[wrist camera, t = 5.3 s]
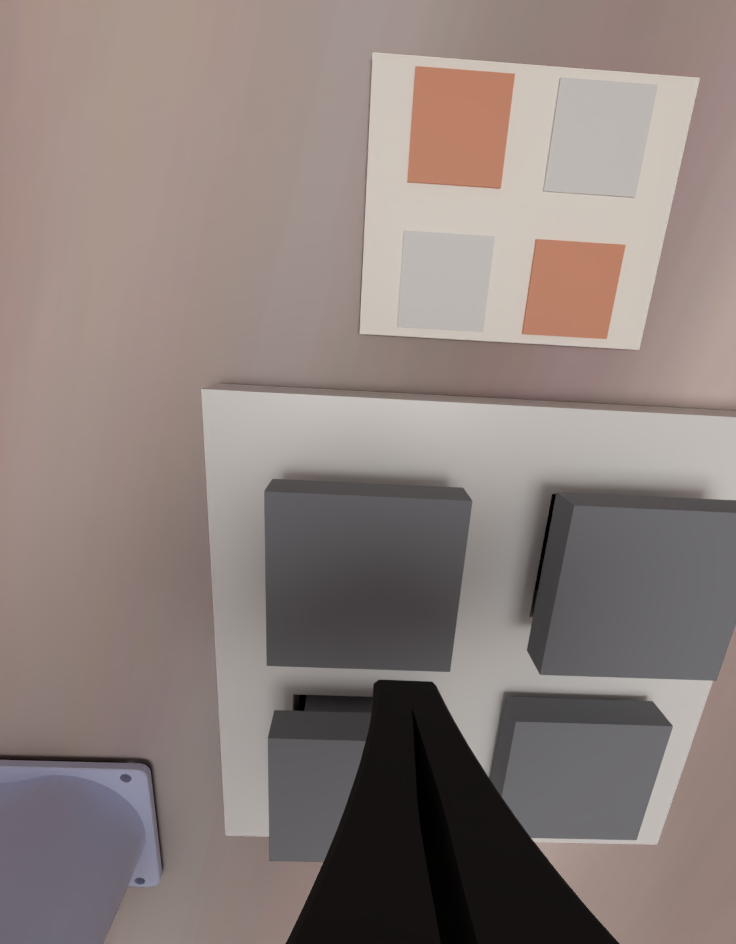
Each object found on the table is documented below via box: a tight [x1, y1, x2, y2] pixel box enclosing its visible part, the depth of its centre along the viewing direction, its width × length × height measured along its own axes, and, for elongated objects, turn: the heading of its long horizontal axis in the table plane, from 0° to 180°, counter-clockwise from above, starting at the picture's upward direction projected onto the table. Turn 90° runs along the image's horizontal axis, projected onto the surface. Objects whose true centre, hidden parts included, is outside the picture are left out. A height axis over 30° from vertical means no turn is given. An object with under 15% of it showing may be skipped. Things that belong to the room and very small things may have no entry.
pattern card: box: [360, 52, 700, 350], centre depth 14 cm, size 10×8×1 cm
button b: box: [491, 697, 673, 840], centre depth 19 cm, size 6×6×3 cm
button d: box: [527, 492, 736, 681], centre depth 15 cm, size 6×6×3 cm
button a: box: [268, 695, 373, 862], centre depth 17 cm, size 6×6×3 cm
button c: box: [264, 479, 472, 672], centre depth 15 cm, size 6×6×3 cm
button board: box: [201, 383, 736, 845], centre depth 18 cm, size 20×20×2 cm
